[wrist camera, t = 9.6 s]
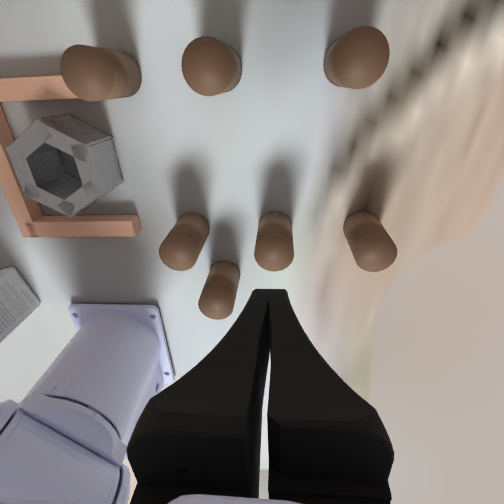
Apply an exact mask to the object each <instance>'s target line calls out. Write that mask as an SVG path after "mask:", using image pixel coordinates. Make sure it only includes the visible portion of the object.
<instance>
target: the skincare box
mask: <svg viewBox="0 0 504 504" xmlns="http://www.w3.org/2000/svg"><path fill="white" fill-rule="evenodd" d="M39 305H40V301H39V300H38V298H37V297H36V296H35V295H34V293H33V292H32V291H31V289H30V288H29V287H28V285H27V284H26V282H25V281H24V280H23V278H22V277H21V276H20V274H19V273H18V271H17V270H16V269H15V268H14V267H9V268H5V269H1V270H0V343H1V342H2V341H3V340H4V339H5V338H6V337H7V336H8V335H9V334H10V333H11V332H12V331H13V330H14V329H15V328H16V327H17V326H19V325H20V324H21V323H22V322H23V321H24V320H25V319H26V318H27V317H28V316H29V315H30V314H31V313H32V312H33V311H34V310H35V309H36V308H37V307H38V306H39Z"/></svg>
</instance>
